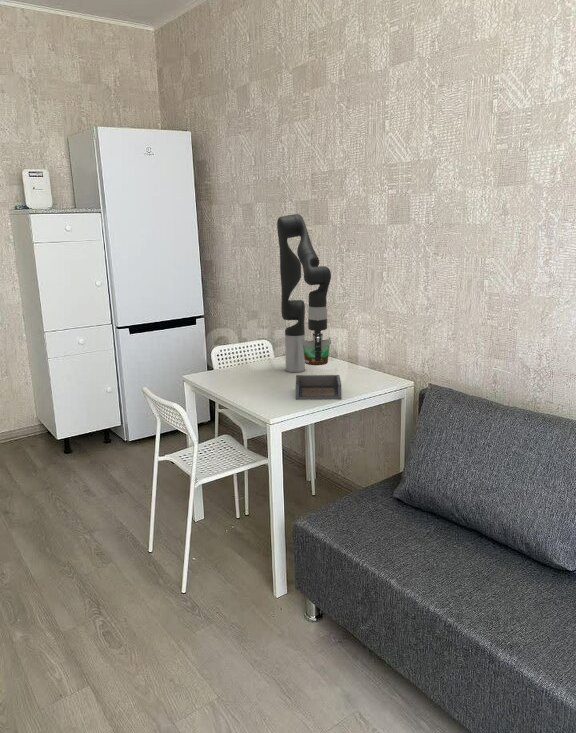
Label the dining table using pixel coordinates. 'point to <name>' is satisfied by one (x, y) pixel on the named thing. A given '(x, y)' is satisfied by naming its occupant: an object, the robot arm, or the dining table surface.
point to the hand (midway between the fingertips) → (317, 359)
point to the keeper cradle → (318, 387)
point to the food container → (310, 352)
